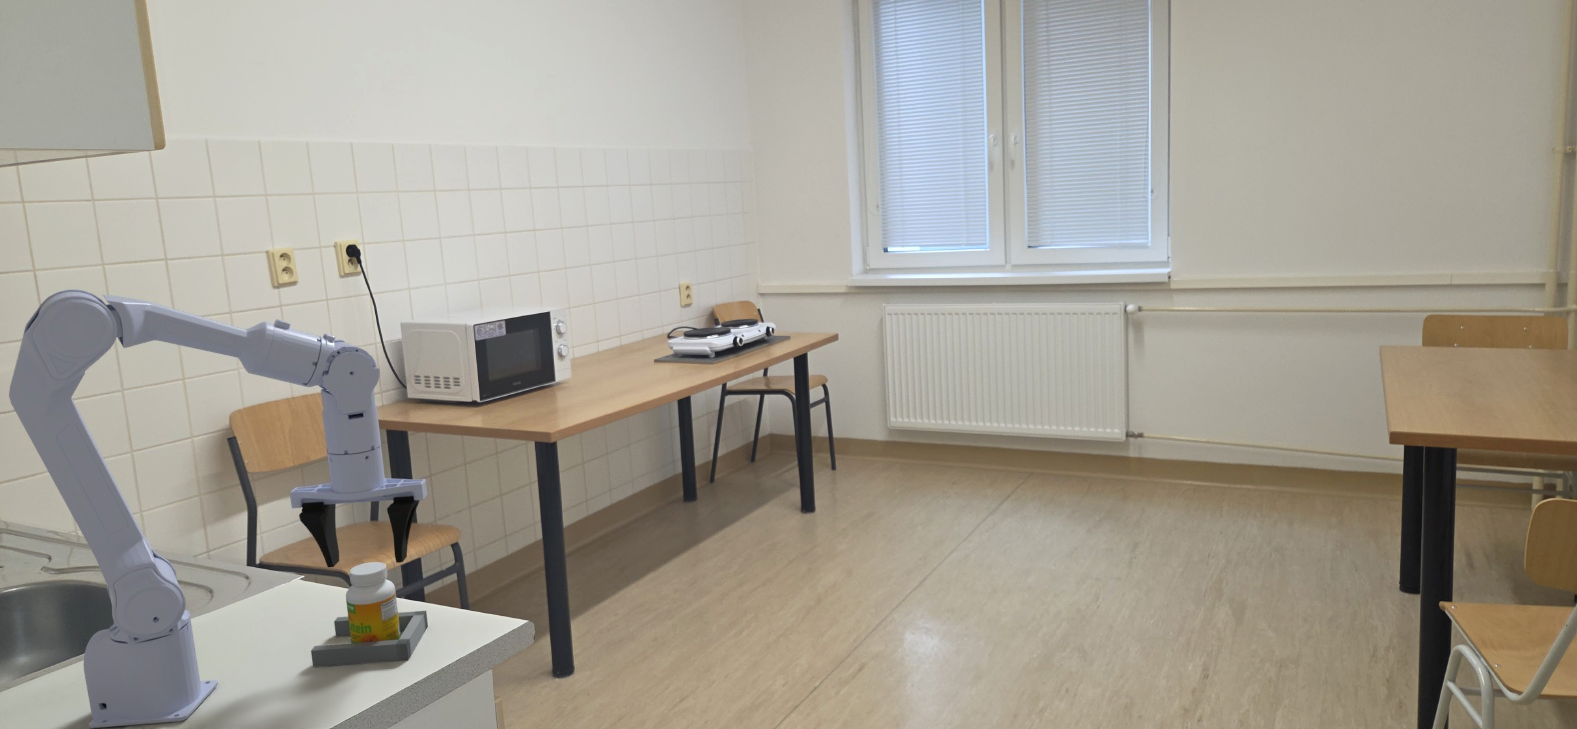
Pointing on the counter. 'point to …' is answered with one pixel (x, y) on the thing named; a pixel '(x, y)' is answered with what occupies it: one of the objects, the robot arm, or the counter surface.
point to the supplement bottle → (372, 604)
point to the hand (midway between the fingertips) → (367, 561)
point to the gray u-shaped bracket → (372, 644)
